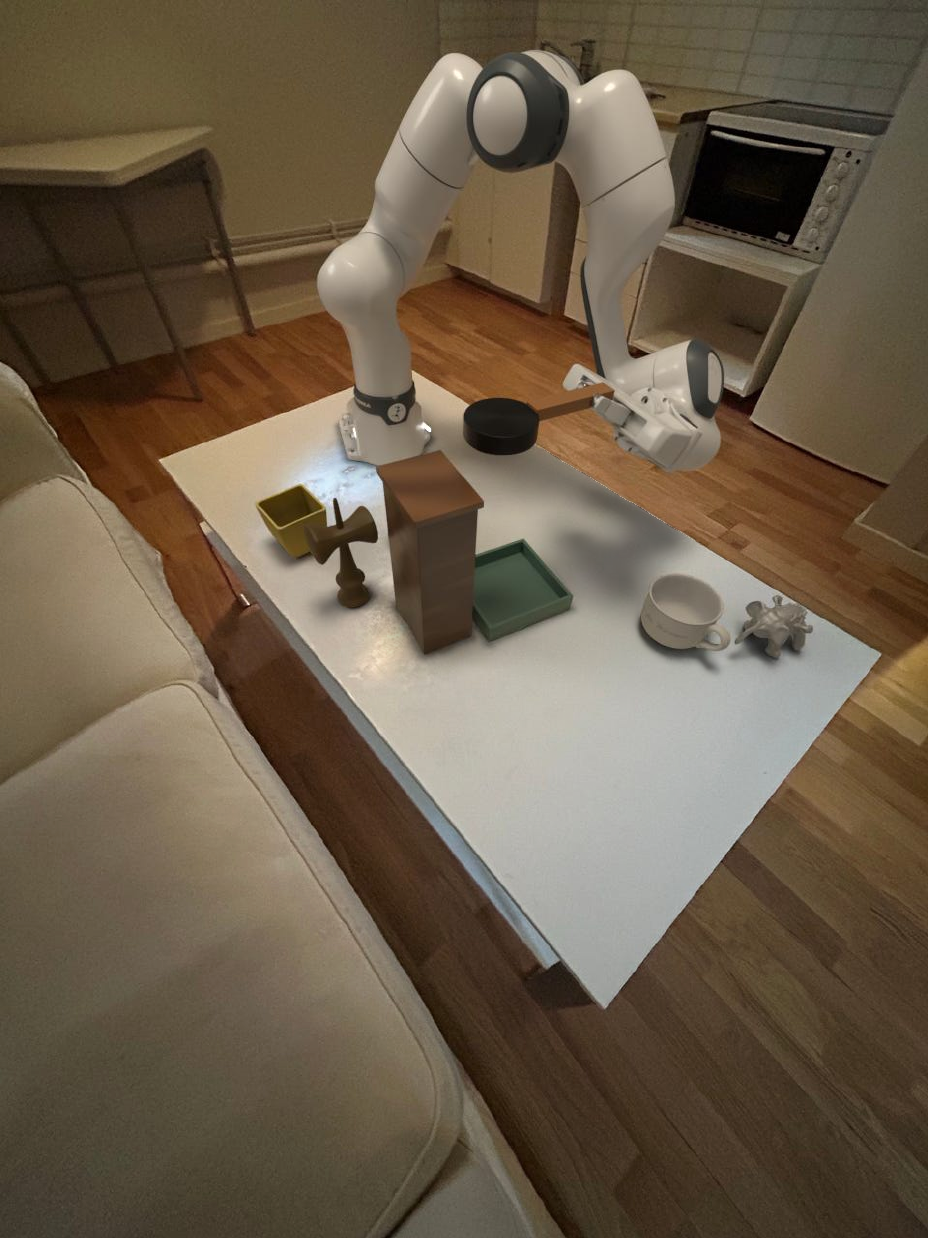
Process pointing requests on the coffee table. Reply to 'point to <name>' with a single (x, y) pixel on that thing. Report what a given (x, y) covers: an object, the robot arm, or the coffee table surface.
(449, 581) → the stand
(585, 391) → the skillet
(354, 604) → the kendama
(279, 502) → the flower pot
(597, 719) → the coffee table surface
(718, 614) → the teacup
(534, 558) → the tray
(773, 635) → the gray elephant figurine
